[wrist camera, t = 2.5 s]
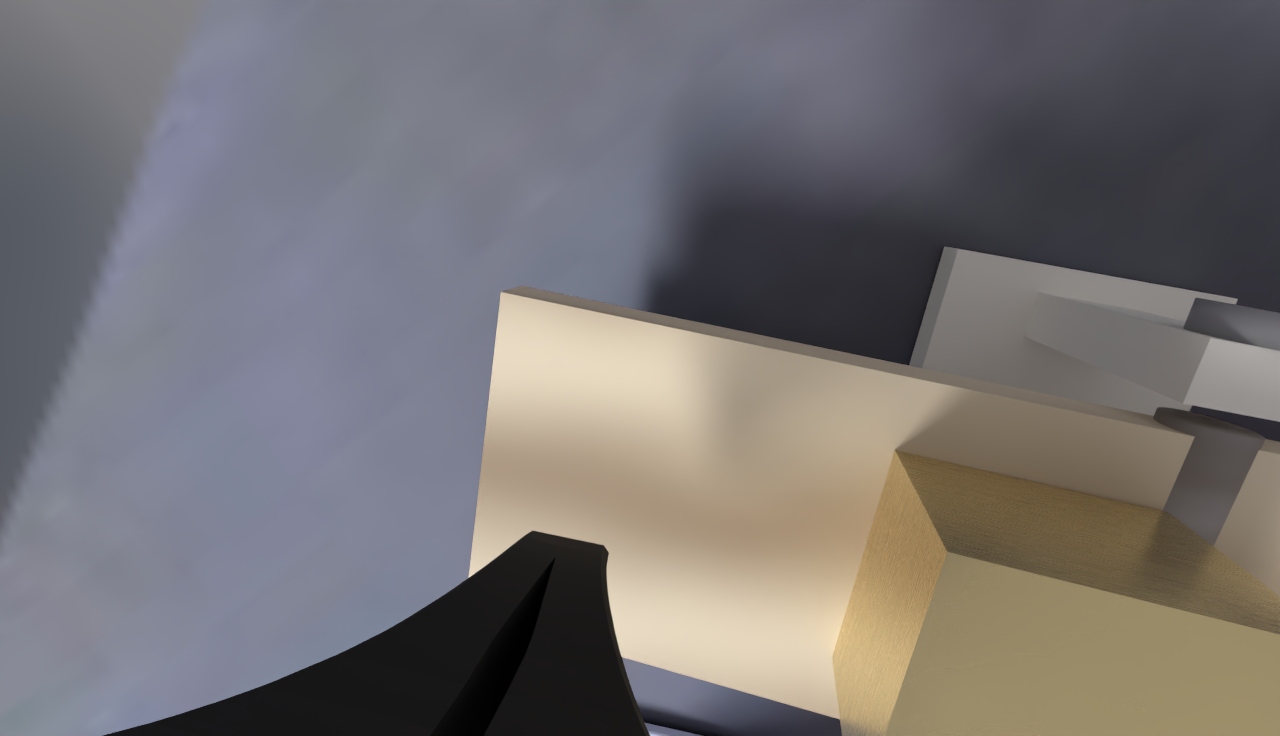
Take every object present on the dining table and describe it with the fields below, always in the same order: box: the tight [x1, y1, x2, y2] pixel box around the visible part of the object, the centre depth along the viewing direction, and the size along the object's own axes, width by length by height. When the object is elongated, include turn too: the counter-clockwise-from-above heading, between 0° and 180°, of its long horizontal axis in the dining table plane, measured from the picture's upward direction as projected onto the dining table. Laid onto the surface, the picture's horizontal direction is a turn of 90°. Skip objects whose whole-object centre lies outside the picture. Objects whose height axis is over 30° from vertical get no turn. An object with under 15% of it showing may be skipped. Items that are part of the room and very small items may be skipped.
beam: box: [469, 286, 1280, 719], centre depth 14 cm, size 8×28×4 cm, turn 80°
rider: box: [832, 450, 1280, 736], centre depth 11 cm, size 5×5×4 cm
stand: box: [909, 246, 1280, 422], centre depth 16 cm, size 13×7×7 cm, turn 170°
